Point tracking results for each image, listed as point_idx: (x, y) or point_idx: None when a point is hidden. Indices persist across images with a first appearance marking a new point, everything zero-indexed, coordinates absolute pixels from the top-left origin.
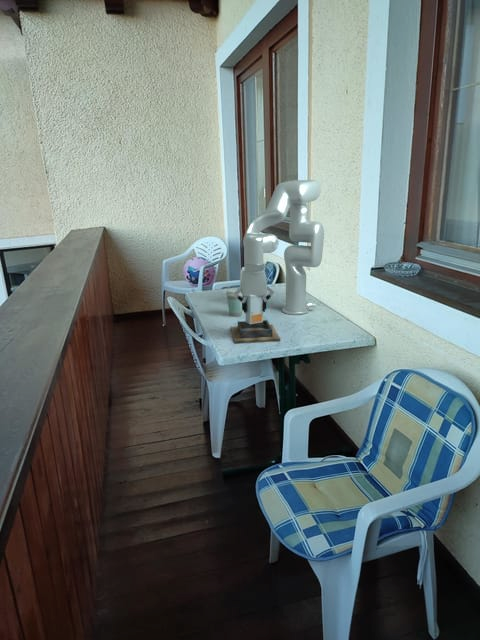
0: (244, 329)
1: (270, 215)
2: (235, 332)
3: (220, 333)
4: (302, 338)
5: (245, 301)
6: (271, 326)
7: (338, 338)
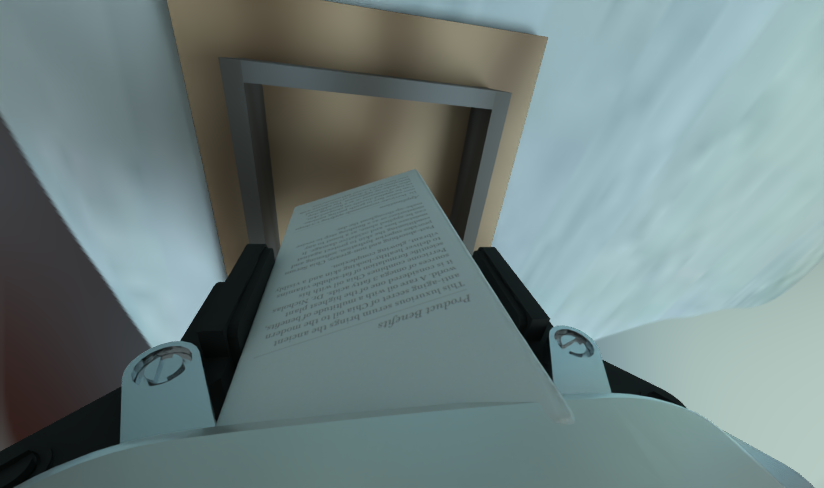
0: (302, 108)
1: None
2: (227, 163)
3: (90, 93)
4: (575, 277)
5: (239, 365)
6: (519, 91)
7: (690, 295)
